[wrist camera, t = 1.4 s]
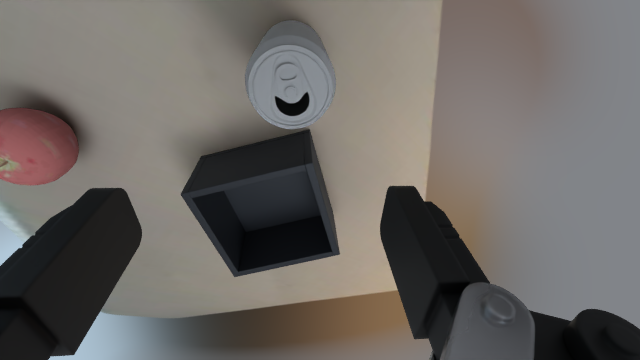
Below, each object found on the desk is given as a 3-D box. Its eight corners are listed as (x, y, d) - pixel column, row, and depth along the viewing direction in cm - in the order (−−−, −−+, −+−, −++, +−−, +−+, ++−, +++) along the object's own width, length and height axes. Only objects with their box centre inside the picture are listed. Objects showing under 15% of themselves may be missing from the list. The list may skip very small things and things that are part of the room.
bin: (309, 129, 34) (312, 162, 28) (333, 213, 42) (339, 254, 35) (200, 156, 35) (180, 194, 29) (243, 234, 43) (234, 277, 36)
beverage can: (268, 90, 31) (255, 140, 21) (253, 23, 27) (229, 46, 18) (327, 82, 31) (341, 128, 21) (320, 14, 27) (333, 31, 18)
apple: (70, 170, 35) (18, 213, 28) (2, 124, 31) (-76, 162, 25) (108, 136, 33) (61, 175, 26) (40, 83, 29) (-34, 112, 23)
